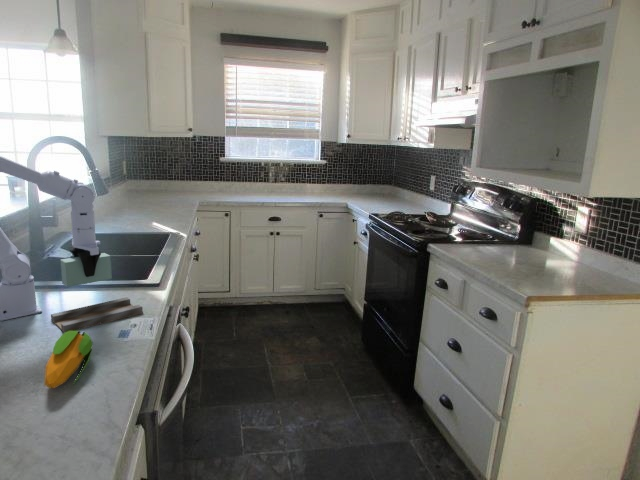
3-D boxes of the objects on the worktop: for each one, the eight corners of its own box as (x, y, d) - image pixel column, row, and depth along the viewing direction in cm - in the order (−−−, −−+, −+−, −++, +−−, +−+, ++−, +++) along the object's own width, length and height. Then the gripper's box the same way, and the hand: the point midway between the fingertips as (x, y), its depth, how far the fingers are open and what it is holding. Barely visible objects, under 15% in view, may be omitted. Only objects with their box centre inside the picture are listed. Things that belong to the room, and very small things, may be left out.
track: (64, 332, 114) (64, 326, 114) (51, 320, 121) (50, 314, 121) (142, 313, 128) (142, 306, 128) (127, 302, 135) (126, 297, 135)
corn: (95, 319, 104) (71, 362, 85) (99, 350, 106) (77, 399, 87) (58, 323, 103) (26, 368, 84) (64, 355, 105) (33, 405, 86)
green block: (67, 287, 127) (65, 262, 125) (62, 283, 130) (60, 259, 128) (111, 278, 136) (110, 255, 134) (106, 275, 138) (104, 252, 137)
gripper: (108, 230, 127) (111, 277, 130) (88, 221, 137) (91, 265, 140) (81, 233, 122) (85, 282, 125) (62, 224, 132) (66, 270, 135)
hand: (86, 274), depth 132 cm, fingers closed on green block, 4 cm apart
